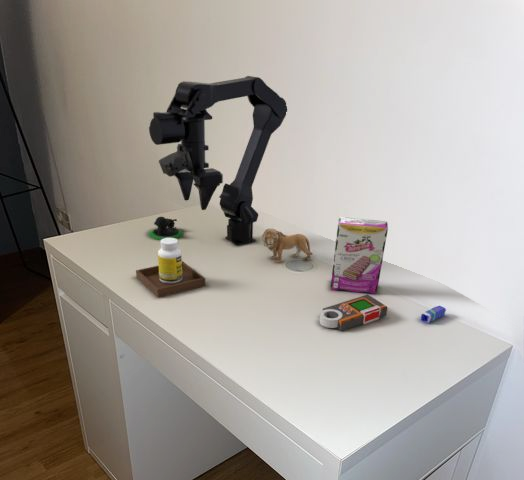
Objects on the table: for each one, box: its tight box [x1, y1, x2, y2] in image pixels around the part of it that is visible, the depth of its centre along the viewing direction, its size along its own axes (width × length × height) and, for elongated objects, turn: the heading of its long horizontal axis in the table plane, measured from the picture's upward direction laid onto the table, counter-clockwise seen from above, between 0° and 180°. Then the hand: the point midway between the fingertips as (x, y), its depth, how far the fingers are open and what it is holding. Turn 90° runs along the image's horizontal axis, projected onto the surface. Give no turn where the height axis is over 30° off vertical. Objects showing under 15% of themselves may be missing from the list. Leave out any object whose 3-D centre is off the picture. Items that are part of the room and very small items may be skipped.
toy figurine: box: [148, 216, 184, 241], centre depth 155 cm, size 10×10×6 cm
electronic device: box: [319, 293, 388, 332], centre depth 116 cm, size 7×3×15 cm
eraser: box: [420, 305, 447, 324], centre depth 117 cm, size 2×6×2 cm, turn 127°
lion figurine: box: [262, 228, 313, 264], centre depth 141 cm, size 15×5×9 cm, turn 113°
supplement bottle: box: [157, 238, 183, 284], centre depth 126 cm, size 5×5×10 cm
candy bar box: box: [330, 216, 389, 295], centre depth 125 cm, size 11×5×16 cm, turn 81°
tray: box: [135, 260, 206, 298], centre depth 129 cm, size 12×12×2 cm
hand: (194, 204), depth 138 cm, fingers open, 9 cm apart
